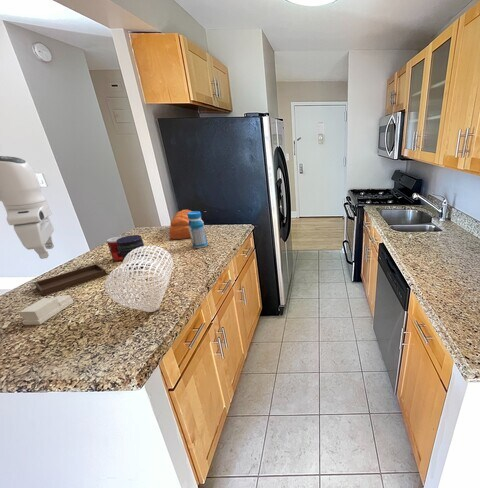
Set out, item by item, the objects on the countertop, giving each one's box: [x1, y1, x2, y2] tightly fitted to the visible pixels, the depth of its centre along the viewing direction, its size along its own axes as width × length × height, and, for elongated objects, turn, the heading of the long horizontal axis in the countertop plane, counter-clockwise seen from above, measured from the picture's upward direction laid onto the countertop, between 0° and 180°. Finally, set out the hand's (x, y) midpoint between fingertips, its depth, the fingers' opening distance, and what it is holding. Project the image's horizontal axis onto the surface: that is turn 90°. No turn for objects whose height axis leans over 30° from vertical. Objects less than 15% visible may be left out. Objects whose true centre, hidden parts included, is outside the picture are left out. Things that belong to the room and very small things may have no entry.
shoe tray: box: [34, 263, 108, 297], centre depth 114 cm, size 21×11×3 cm, turn 146°
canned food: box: [106, 235, 124, 262], centre depth 134 cm, size 8×8×11 cm
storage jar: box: [116, 234, 150, 271], centre depth 124 cm, size 10×10×15 cm
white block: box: [19, 295, 75, 326], centre depth 93 cm, size 13×6×5 cm, turn 1°
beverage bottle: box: [187, 210, 209, 249], centre depth 148 cm, size 8×8×20 cm
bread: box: [168, 209, 193, 240], centre depth 173 cm, size 16×31×13 cm, turn 19°
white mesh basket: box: [104, 245, 174, 313], centre depth 91 cm, size 28×16×22 cm, turn 18°
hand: (47, 252), depth 85 cm, fingers open, 8 cm apart
